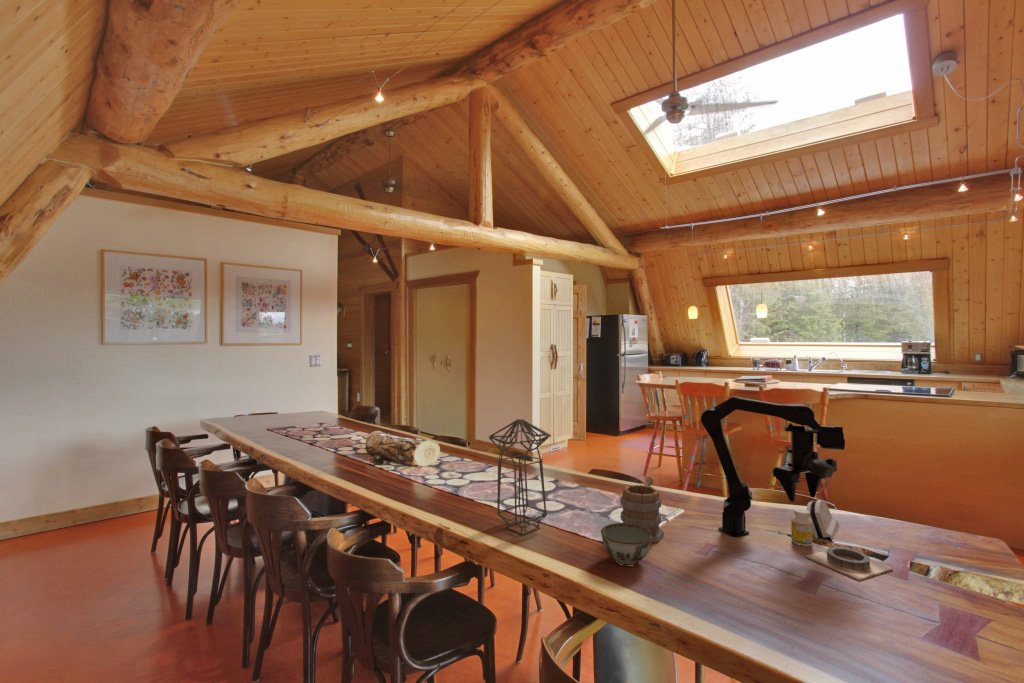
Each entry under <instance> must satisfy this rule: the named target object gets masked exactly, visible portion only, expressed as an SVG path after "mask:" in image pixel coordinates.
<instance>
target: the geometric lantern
mask: <svg viewBox="0 0 1024 683" xmlns="http://www.w3.org/2000/svg"><path fill="white" fill-rule="evenodd" d="M507 428H508V430H506V432H504V434H503V435H498V433H500V432H502V431H504V430H505V429H507ZM519 428H520V430H519ZM515 429H516V430H515ZM519 432H520V439H521V441H519V442H518V437H519ZM539 433H540V434H539ZM513 434H514V435H513ZM523 435H524V436H525V438H526V440H523ZM529 435H530V436H529ZM530 437H531V438H530ZM536 437H538V439H537V438H536ZM550 437H552V434H550V433H548V432H546V431H544V430H543V429H541V428H539V427H537V426H535V425H533V424H532V423H531V422H528V421H526V420H525V419H523V418H522V419H519V418H517V419H516V420H514V421H512V422H511V423H509V424H508V425H506V426H504V427H502V428H500V429H498V430H497V431H495V432H494V433H492V434H490V435H489V436H488V439H489V440H490V442H492V443H493V444H494V445H495V447H496V448H497V449H498V450H499V455H498V460H497V508H496V509H497V510H496V511H497V512H496V513H497V514H496V516H498V517H499V518H501V519H502V520H503V521H504V523H506V525H505V527H507V528H508V530H509V529H511V530H510V531H512V530H513V531H512V532H514V531H516V532H515V533H517V532H519V531H517V530H515V529H512V528H510V527H511V526H514V527H516V528H517V527H518V528H519V529H520V532H519V533H522V534H523V533H527V534H529V533H528V532H530V533H532V532H534V530H535V531H536V529H537V530H539V529H541V526H540V522H541V521H542V520H543V519H545V518H546V517H547V515H548V513H547V505H546V492H545V480H544V478H545V477H544V465H543V458H541V454H540V449H539V448H540V446H542V445H543V443H545V442H546V440H548V439H549V438H550ZM499 438H500V439H499ZM508 439H509V441H508ZM495 441H497V442H498V444H497V443H496V442H495ZM524 443H528V445H529V446H528V447H527V446H526V445H525V444H524ZM501 444H502V448H501ZM516 444H520V445H521V446H522V447H523V448H525V450H527V451H526V453H525V454H523V455H522V454H520V452H518V450H517V449H516V448H515V447H514V445H516ZM533 444H534V445H536V447H534V448H532V446H533ZM506 445H508V447H506ZM510 448H513V449H514V450H515V452H516V453H517V455H511V453H510V452H509V449H510ZM535 450H536V451H537V453H538V457H536V456H535V457H534V456H531V455H528V454H529V453H530V452H532V451H535ZM504 452H507V454H508V456H509V457H505V458H503V456H504ZM517 457H518V464H516V462H515V460H514V459H513V458H517ZM526 457H527V458H530V459H534V460H535V459H536V460H537V461H534V462H530V463H527V459H526ZM521 458H523V459H522V460H521ZM508 459H509V460H511V461H512V463H509V462H506V461H505V460H508ZM538 460H539V461H538ZM504 461H505V462H504ZM523 462H524V464H523ZM502 464H505V465H510V466H512V467H513V468H514V476H513V477H514V506H512V507H508V508H506V509H502V510H500V507H501V506H500V502H501V480H502ZM534 464H538V466H539V472H540V474H539V475H540V483H541V489H542V490H541V491H542V498H543V499H542V500H543V508H544V509H541V508H537V507H534V506H532V505H529V501H528V500H529V497H528V480H527V479H528V478H527V466H530V465H534ZM522 467H524V482H525V483H524V482H523V472H522V470H523V468H522ZM517 468H518V503H517ZM524 484H525V496H524ZM521 500H522V504H521ZM525 500H526V501H525ZM525 502H526V504H525ZM517 504H518V505H517ZM521 507H522V511H521ZM517 508H518V510H519V515H518V512H517ZM528 508H530V509H534V510H536V511H539V512H541V513H543V514H541V515H539V516H537V517H531V516H527V515H526V512H527V510H528ZM513 509H514V517H512V518H508V517H506V516H503V515H502V514H501V513H505V512H507V511H510V510H513ZM522 514H523V515H522ZM518 518H519V521H518ZM526 518H529V519H526ZM532 521H534V522H532ZM529 523H530V524H529ZM521 524H524V525H523V526H522V525H521ZM526 524H527V525H526ZM532 525H533V526H535V527H537V526H538V527H537V528H534V529H532V530H529V531H526V528H528V527H530V526H532ZM508 526H509V527H508ZM507 528H506V529H507ZM523 529H524V532H523ZM531 531H532V532H531ZM519 533H518V534H519ZM522 534H521V535H522ZM523 535H524V534H523Z"/></svg>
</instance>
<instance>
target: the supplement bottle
mask: <svg viewBox="0 0 1024 683" xmlns="http://www.w3.org/2000/svg"><path fill="white" fill-rule="evenodd" d="M809 517H810V512H809V511H807V509H804V508H794V510H793V516H792V517H791V526H790V527H791V528H790V529H791V533H790V534H791V535H790V538H791V542H792V541H793V542H794V544H795V543H796V544H795V545H797V544H799V545H798V546H800V545H803V546H802V547H810V546H812V545H813V533H812V520H811V519H810V518H809ZM793 542H792V543H793Z"/></svg>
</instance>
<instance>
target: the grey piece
mask: <svg viewBox="0 0 1024 683" xmlns="http://www.w3.org/2000/svg"><path fill="white" fill-rule="evenodd" d="M806 510H807V511H809V512H810V517H809V518H810V519H811V520H812V537H813V538H814V537H819V538H820V537H823V538H830V540H833V539H834V536H835V534H836V531H837V529H838V530H839V528H838V526H839V527H840V524H839V521H838V519H836V518H835V517H833V516H832V514H831V511H830V509H829V507H828V504H827V502H826V500H824V499H818V500H812V501H809V502H808V503H807V505H806ZM837 532H838V531H837ZM836 535H837V534H836Z"/></svg>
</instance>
